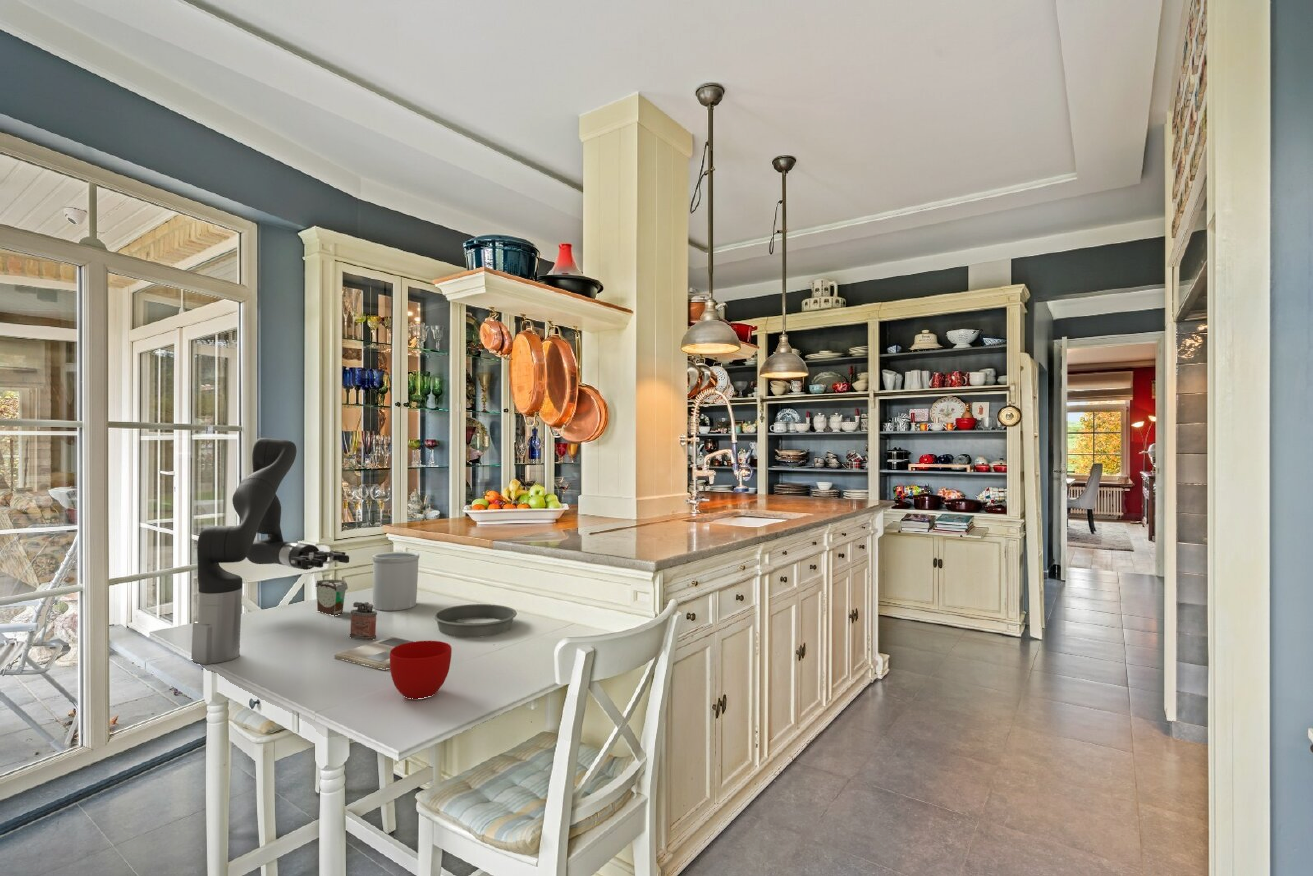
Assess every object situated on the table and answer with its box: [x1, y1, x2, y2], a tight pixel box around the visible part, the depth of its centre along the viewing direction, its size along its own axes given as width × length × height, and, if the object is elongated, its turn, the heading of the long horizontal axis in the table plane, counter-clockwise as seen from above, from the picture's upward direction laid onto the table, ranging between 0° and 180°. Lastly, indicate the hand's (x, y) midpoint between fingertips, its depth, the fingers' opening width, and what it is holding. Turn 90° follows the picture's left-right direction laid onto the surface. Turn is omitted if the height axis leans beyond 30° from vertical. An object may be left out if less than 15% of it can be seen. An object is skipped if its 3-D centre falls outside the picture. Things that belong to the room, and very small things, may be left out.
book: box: [334, 636, 414, 669], centre depth 168 cm, size 18×18×1 cm
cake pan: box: [433, 603, 518, 638], centre depth 195 cm, size 25×25×4 cm
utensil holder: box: [371, 551, 420, 612], centre depth 217 cm, size 15×15×18 cm
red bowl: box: [389, 640, 453, 699], centre depth 144 cm, size 13×17×10 cm
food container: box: [315, 579, 349, 616], centre depth 207 cm, size 12×6×10 cm, turn 58°
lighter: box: [349, 601, 378, 641], centre depth 181 cm, size 8×3×10 cm, turn 74°
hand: (335, 561), depth 187 cm, fingers open, 8 cm apart
